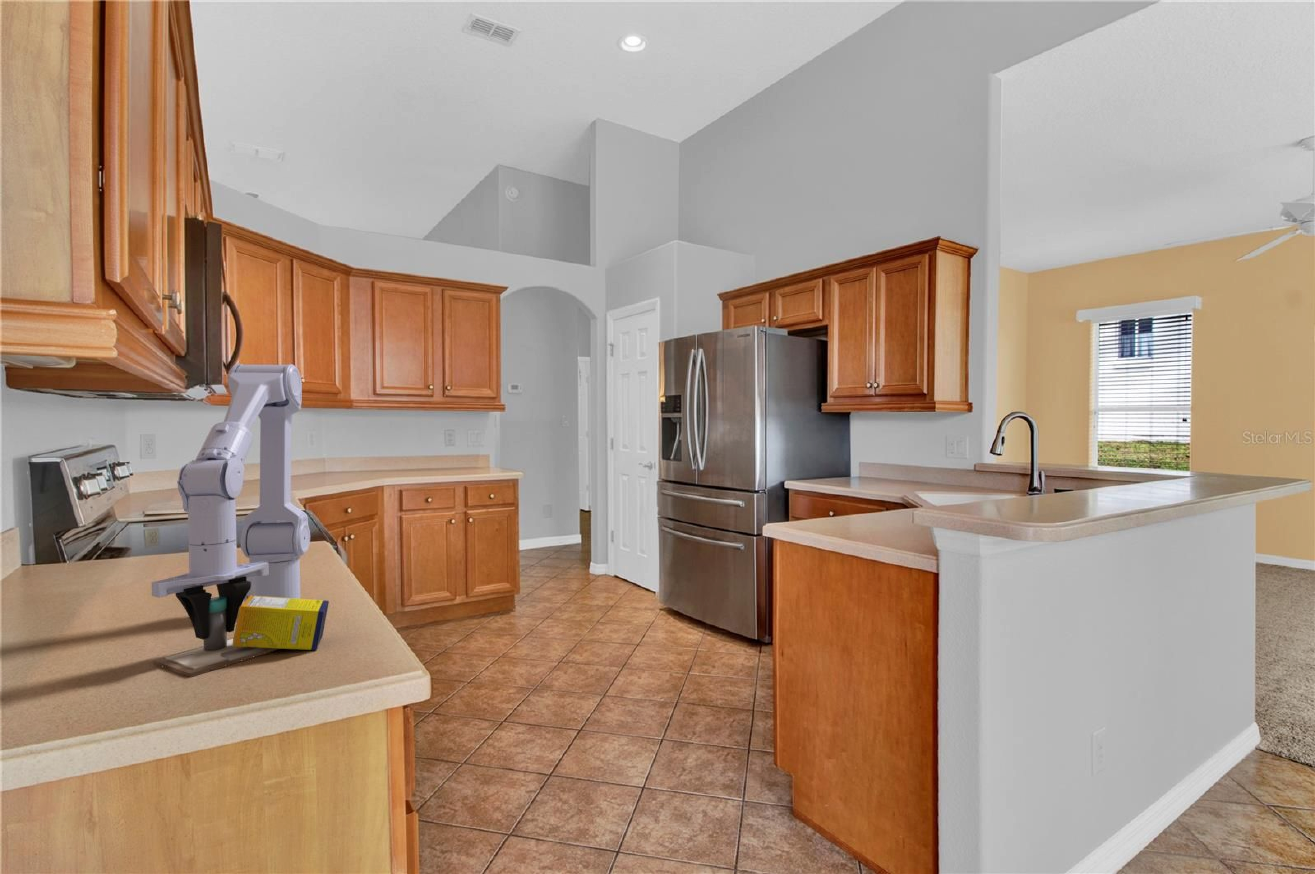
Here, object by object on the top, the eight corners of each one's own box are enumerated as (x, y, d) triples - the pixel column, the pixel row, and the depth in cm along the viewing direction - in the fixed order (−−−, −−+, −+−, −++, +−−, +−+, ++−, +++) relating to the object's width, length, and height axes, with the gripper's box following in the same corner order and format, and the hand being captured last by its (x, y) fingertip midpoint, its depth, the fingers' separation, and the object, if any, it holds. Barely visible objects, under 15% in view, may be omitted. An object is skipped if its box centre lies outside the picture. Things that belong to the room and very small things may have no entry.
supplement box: (322, 638, 98) (241, 633, 94) (329, 599, 98) (249, 594, 95) (317, 651, 93) (230, 647, 89) (324, 611, 93) (238, 605, 89)
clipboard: (153, 663, 88) (153, 655, 88) (270, 630, 102) (270, 623, 102) (189, 677, 83) (189, 669, 83) (307, 640, 97) (307, 633, 97)
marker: (198, 648, 92) (197, 601, 92) (221, 642, 94) (220, 596, 94) (209, 652, 90) (208, 603, 90) (232, 645, 93) (230, 598, 93)
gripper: (168, 553, 84) (171, 655, 84) (279, 536, 96) (281, 624, 97) (143, 548, 87) (145, 646, 87) (253, 532, 100) (255, 617, 100)
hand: (215, 634), depth 92 cm, fingers closed on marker, 3 cm apart
